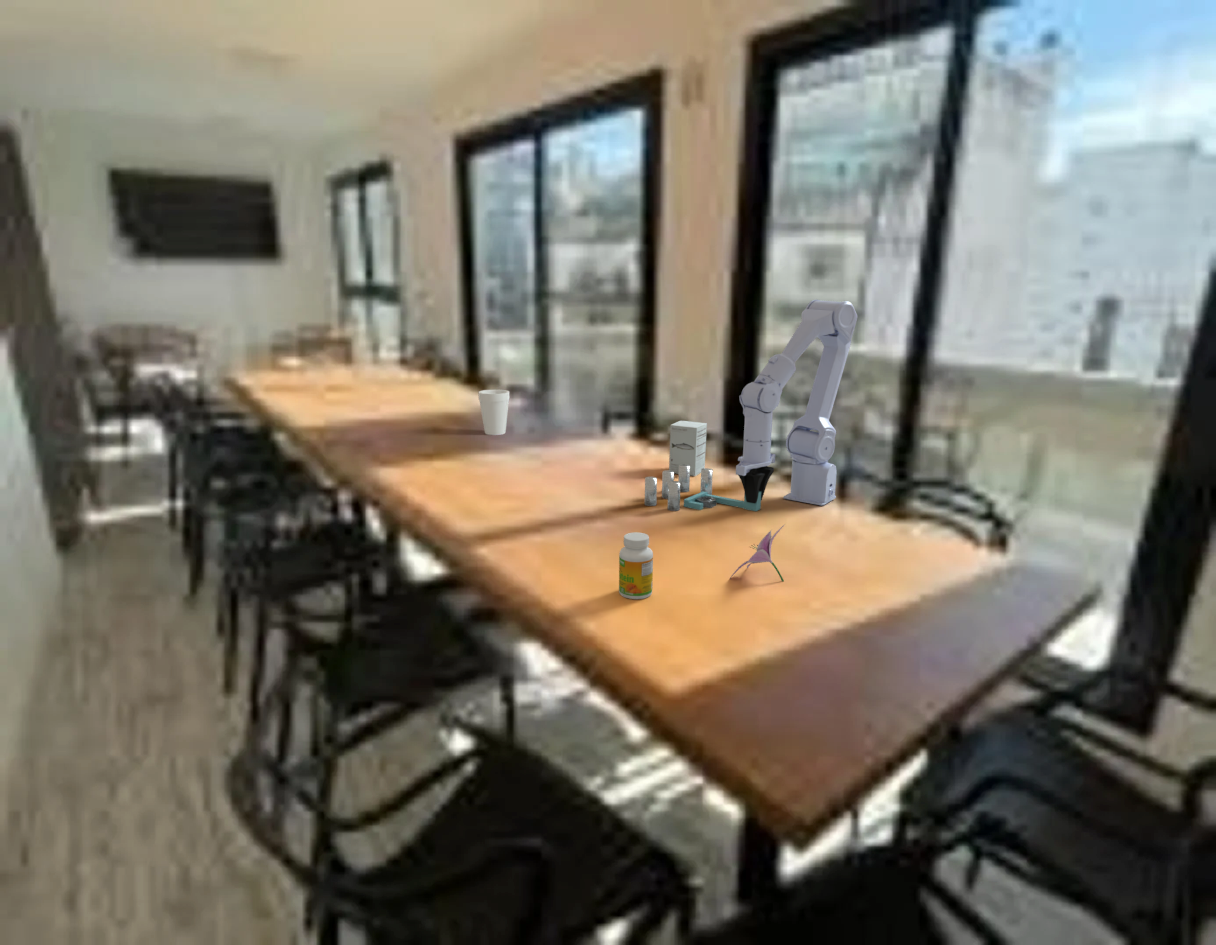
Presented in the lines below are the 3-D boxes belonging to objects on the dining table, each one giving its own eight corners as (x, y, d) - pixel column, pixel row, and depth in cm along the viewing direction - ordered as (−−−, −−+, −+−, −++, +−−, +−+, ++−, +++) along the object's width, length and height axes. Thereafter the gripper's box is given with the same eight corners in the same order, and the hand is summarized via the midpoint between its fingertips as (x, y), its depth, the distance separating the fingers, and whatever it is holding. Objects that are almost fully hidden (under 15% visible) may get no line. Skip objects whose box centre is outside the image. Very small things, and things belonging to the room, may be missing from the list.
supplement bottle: (611, 593, 129) (612, 536, 127) (634, 584, 133) (635, 528, 130) (636, 603, 125) (636, 544, 123) (659, 593, 129) (660, 536, 127)
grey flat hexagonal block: (719, 504, 177) (719, 498, 177) (708, 509, 174) (708, 503, 173) (703, 501, 179) (703, 495, 179) (692, 505, 176) (692, 499, 176)
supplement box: (667, 473, 203) (669, 424, 200) (679, 467, 209) (680, 419, 206) (695, 477, 200) (696, 427, 197) (705, 470, 206) (707, 422, 203)
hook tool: (760, 509, 174) (761, 491, 173) (741, 518, 167) (742, 500, 166) (703, 497, 182) (704, 480, 181) (683, 506, 175) (684, 488, 174)
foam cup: (474, 434, 248) (473, 393, 244) (487, 429, 256) (486, 388, 253) (503, 436, 245) (501, 394, 242) (515, 431, 254) (514, 390, 250)
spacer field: (713, 494, 184) (714, 469, 183) (675, 511, 172) (676, 484, 170) (681, 488, 189) (682, 463, 188) (642, 504, 176) (642, 478, 175)
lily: (779, 567, 143) (754, 520, 143) (823, 563, 133) (796, 512, 132) (731, 601, 138) (706, 552, 137) (773, 599, 127) (746, 546, 127)
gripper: (755, 431, 177) (752, 490, 181) (724, 442, 166) (721, 505, 170) (785, 435, 173) (781, 495, 177) (754, 447, 162) (751, 511, 166)
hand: (754, 501), depth 173 cm, fingers closed on hook tool, 2 cm apart
